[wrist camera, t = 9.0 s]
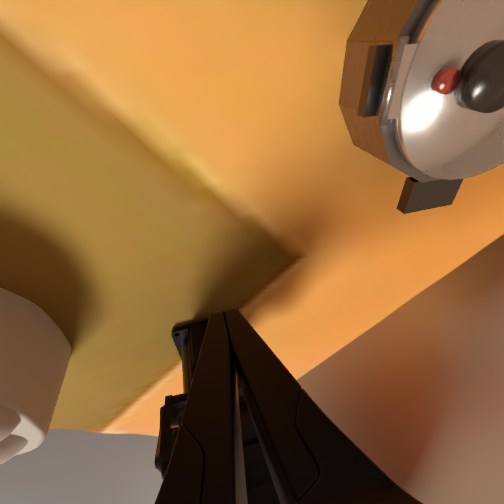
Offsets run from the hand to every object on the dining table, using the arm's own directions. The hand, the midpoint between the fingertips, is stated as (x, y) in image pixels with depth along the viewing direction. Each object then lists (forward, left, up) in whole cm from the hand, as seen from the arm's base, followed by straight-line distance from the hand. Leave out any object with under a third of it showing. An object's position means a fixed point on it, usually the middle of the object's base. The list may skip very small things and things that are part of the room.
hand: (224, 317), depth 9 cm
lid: (+5, -16, -7) cm, 18 cm away
